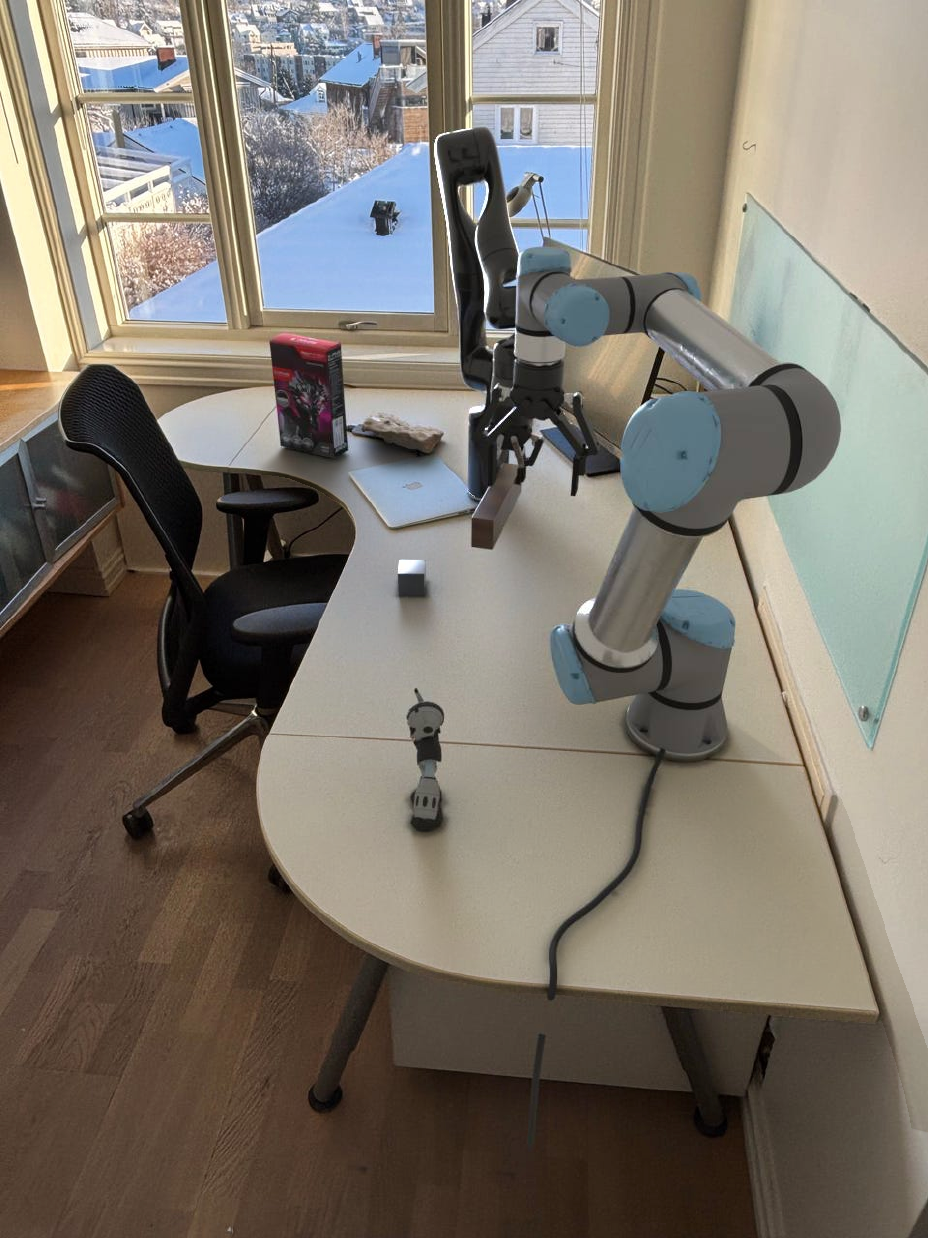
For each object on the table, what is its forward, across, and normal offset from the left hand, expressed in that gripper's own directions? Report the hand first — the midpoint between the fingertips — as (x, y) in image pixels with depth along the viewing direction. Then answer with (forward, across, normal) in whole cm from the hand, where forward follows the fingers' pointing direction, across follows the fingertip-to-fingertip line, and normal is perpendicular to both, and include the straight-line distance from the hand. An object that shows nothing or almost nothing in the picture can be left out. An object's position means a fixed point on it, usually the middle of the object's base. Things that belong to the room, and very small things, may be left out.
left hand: (507, 481), depth 180 cm
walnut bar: (+4, 0, +8) cm, 9 cm away
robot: (+16, -6, +74) cm, 76 cm away
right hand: (-12, -10, +26) cm, 31 cm away
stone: (+16, +39, -47) cm, 63 cm away
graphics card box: (+16, +58, -37) cm, 71 cm away
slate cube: (+16, +14, +19) cm, 28 cm away
